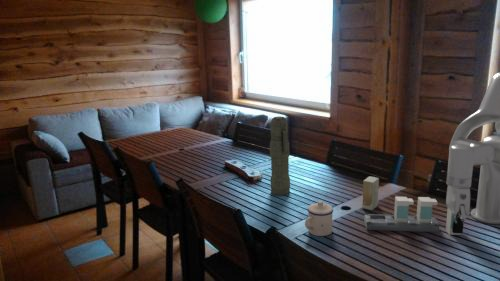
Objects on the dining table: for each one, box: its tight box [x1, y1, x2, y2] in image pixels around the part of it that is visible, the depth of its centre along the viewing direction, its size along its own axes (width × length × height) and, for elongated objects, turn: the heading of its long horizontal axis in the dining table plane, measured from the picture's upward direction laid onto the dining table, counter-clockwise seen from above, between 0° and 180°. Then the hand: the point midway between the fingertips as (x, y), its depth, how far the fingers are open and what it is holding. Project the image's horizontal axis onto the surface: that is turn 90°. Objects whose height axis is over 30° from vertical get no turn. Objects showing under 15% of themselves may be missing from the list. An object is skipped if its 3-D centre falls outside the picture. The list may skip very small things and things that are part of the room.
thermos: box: [269, 116, 291, 197], centre depth 181 cm, size 9×12×35 cm
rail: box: [363, 213, 441, 233], centre depth 148 cm, size 25×7×3 cm, turn 81°
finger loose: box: [445, 207, 467, 236], centre depth 141 cm, size 6×5×9 cm
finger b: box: [393, 196, 415, 223], centre depth 146 cm, size 6×5×9 cm
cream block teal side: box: [416, 196, 438, 223], centre depth 145 cm, size 6×5×9 cm
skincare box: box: [362, 176, 380, 211], centre depth 164 cm, size 6×4×12 cm
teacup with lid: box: [304, 200, 334, 237], centre depth 145 cm, size 12×9×12 cm
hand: (454, 228), depth 142 cm, fingers open, 5 cm apart
